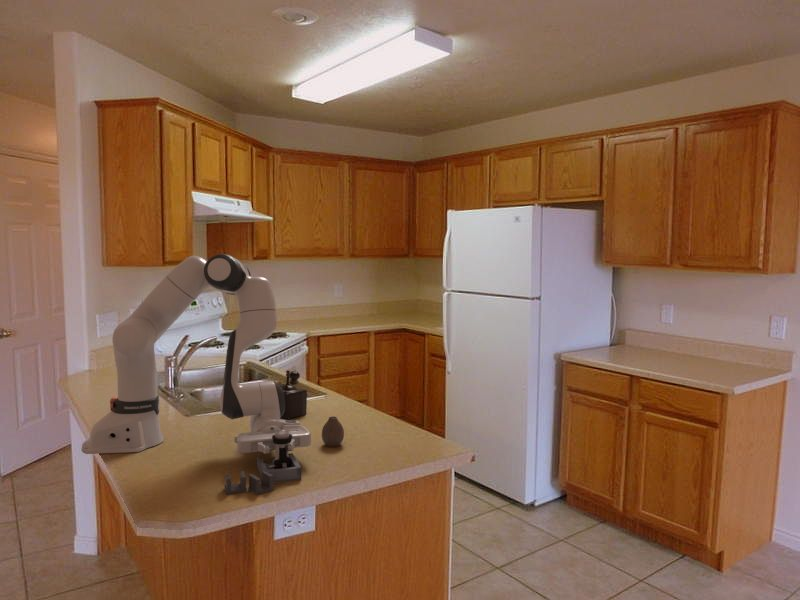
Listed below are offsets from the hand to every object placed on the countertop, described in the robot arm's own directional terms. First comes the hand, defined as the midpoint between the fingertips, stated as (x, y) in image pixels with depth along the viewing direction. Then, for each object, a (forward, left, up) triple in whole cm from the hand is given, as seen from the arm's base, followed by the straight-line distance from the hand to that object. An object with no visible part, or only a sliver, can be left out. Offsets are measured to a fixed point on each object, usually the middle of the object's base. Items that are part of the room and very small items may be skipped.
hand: (278, 449), depth 154 cm
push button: (0, +1, -6) cm, 6 cm away
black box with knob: (+14, +53, -7) cm, 56 cm away
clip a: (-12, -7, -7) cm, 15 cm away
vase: (+20, +18, -7) cm, 28 cm away
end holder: (0, 0, -7) cm, 7 cm away
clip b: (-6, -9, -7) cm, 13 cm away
